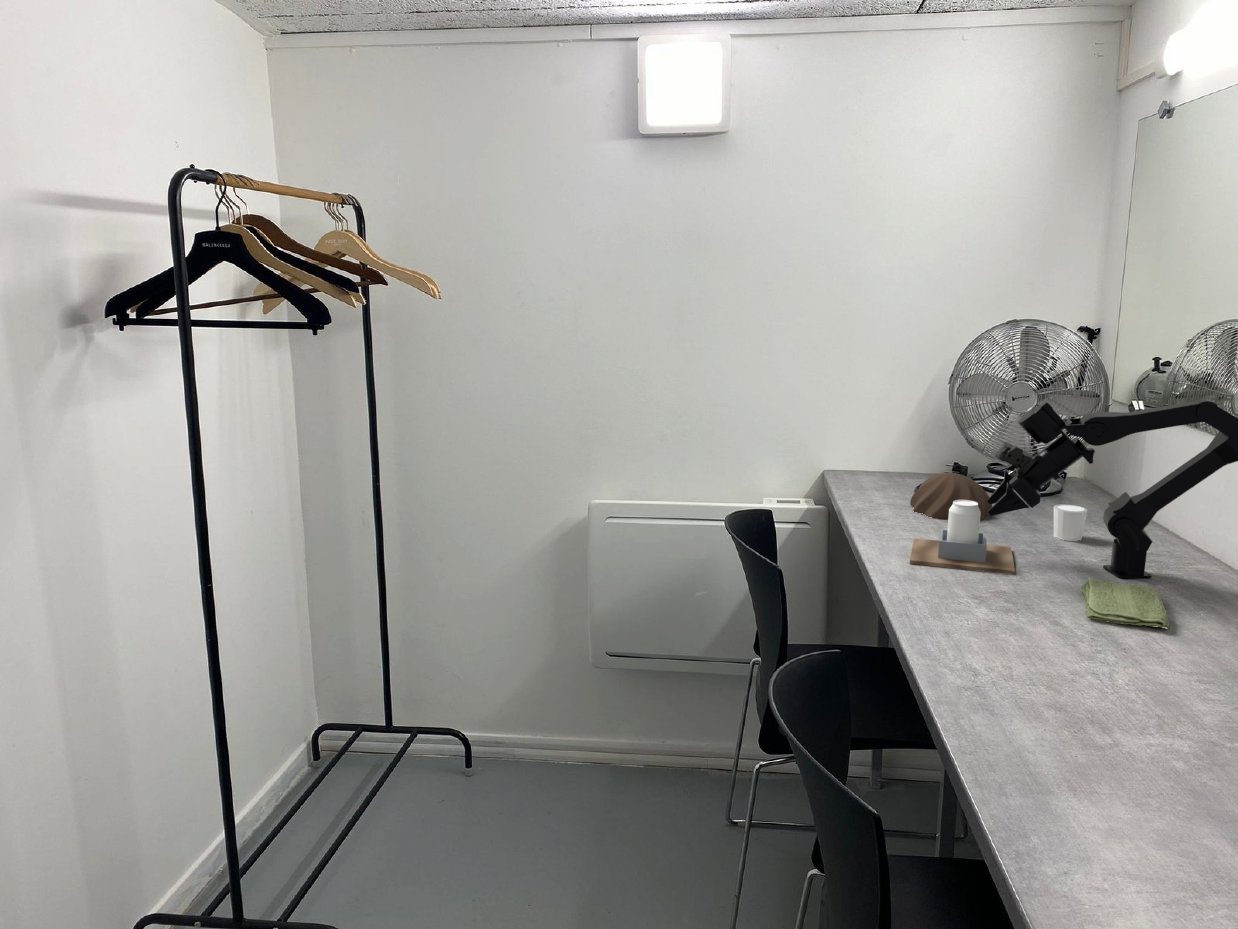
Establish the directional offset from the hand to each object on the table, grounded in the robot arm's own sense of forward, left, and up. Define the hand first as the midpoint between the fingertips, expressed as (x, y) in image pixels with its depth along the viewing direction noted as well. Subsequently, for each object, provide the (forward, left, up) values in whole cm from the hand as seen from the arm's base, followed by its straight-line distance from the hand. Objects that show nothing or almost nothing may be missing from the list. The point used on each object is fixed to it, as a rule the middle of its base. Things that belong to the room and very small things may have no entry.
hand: (988, 508), depth 185 cm
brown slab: (+2, +4, -11) cm, 12 cm away
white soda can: (+2, +4, -11) cm, 12 cm away
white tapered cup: (+15, -25, -11) cm, 31 cm away
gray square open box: (+2, +4, -11) cm, 12 cm away
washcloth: (-28, -14, -12) cm, 33 cm away
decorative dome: (+38, -7, -12) cm, 41 cm away
